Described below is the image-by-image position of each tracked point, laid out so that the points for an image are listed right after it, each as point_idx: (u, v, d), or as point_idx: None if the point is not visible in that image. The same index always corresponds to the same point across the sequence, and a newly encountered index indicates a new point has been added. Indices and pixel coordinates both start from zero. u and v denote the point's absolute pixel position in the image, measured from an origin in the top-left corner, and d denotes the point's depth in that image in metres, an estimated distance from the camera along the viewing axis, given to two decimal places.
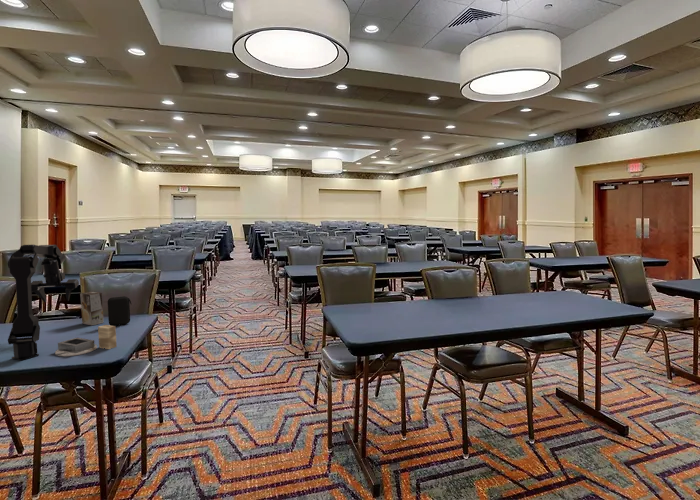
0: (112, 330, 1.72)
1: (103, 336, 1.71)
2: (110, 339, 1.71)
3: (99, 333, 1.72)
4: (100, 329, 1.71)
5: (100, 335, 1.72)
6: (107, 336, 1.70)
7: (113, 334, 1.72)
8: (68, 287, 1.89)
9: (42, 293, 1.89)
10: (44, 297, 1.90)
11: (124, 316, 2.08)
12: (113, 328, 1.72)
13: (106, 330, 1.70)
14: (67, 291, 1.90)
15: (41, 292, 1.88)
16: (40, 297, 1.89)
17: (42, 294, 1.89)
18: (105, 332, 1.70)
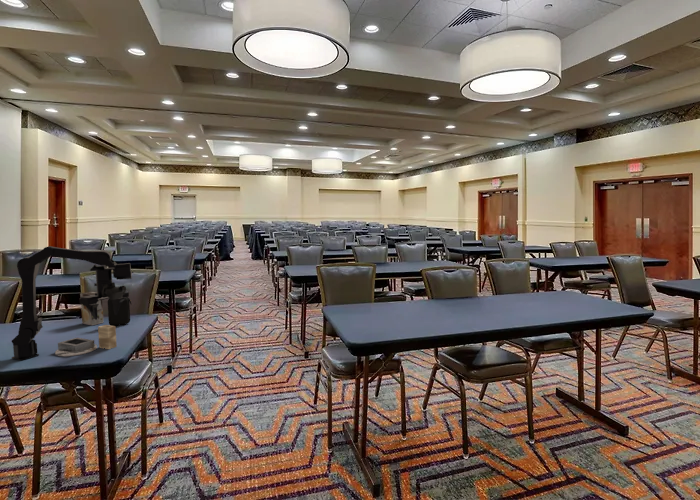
0: (112, 330, 1.72)
1: (103, 336, 1.71)
2: (110, 339, 1.71)
3: (99, 333, 1.72)
4: (100, 329, 1.71)
5: (100, 335, 1.72)
6: (107, 336, 1.70)
7: (113, 334, 1.72)
8: None
9: (114, 303, 1.77)
10: (115, 308, 1.76)
11: (124, 316, 2.08)
12: (113, 328, 1.72)
13: (106, 330, 1.70)
14: None
15: (114, 301, 1.77)
16: None
17: (114, 304, 1.77)
18: (105, 332, 1.70)
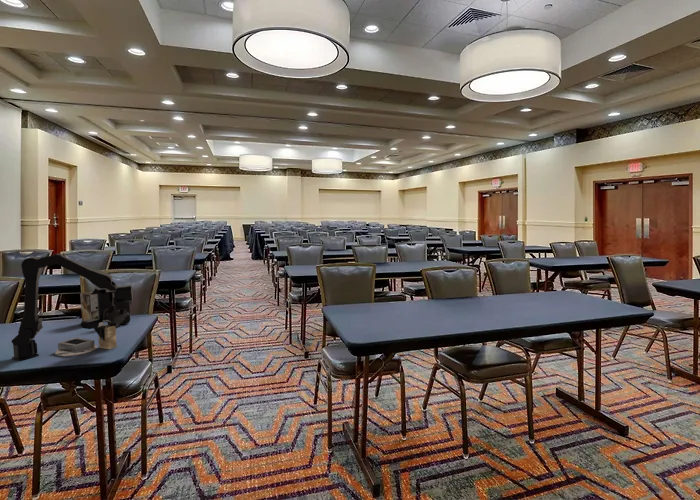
0: (112, 330, 1.72)
1: None
2: (110, 339, 1.71)
3: None
4: None
5: None
6: (107, 336, 1.70)
7: (113, 334, 1.72)
8: None
9: None
10: None
11: None
12: (113, 328, 1.72)
13: (106, 330, 1.70)
14: None
15: None
16: None
17: None
18: (105, 332, 1.70)
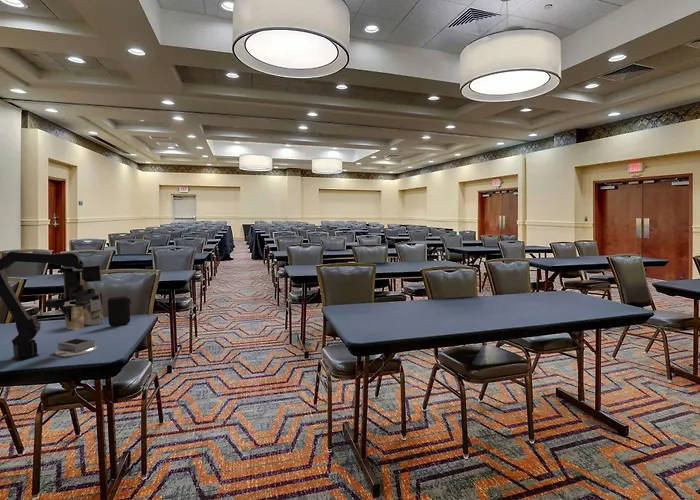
0: (79, 310, 1.67)
1: None
2: (77, 319, 1.66)
3: None
4: None
5: None
6: (74, 316, 1.65)
7: (80, 314, 1.67)
8: None
9: None
10: None
11: (124, 316, 2.08)
12: (80, 308, 1.67)
13: (73, 310, 1.65)
14: None
15: (77, 305, 1.70)
16: None
17: None
18: (71, 312, 1.65)
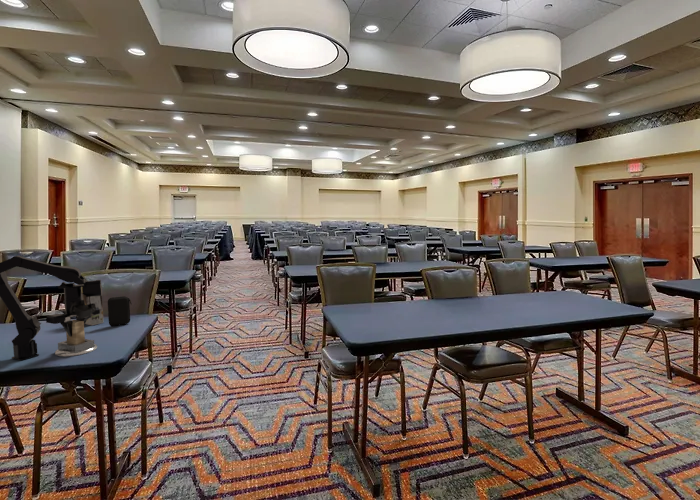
0: (80, 325, 1.67)
1: None
2: (78, 334, 1.66)
3: None
4: None
5: None
6: (74, 331, 1.66)
7: (81, 329, 1.68)
8: None
9: None
10: None
11: (124, 316, 2.08)
12: (81, 323, 1.67)
13: (73, 325, 1.65)
14: None
15: None
16: None
17: None
18: (72, 327, 1.66)
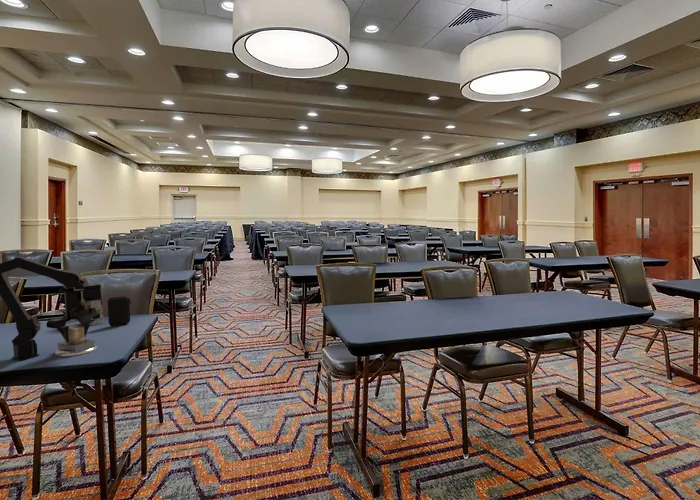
0: (80, 331, 1.67)
1: (71, 337, 1.67)
2: (78, 340, 1.67)
3: None
4: (68, 330, 1.67)
5: None
6: (75, 337, 1.66)
7: (81, 335, 1.68)
8: None
9: (82, 325, 1.72)
10: None
11: (124, 316, 2.08)
12: (81, 329, 1.68)
13: (74, 331, 1.66)
14: None
15: (82, 323, 1.72)
16: None
17: (82, 326, 1.72)
18: (72, 333, 1.66)
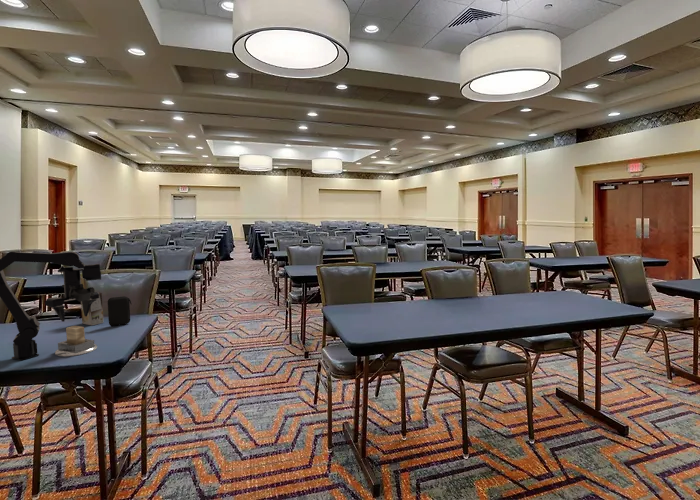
0: (80, 331, 1.67)
1: (71, 337, 1.67)
2: (79, 340, 1.67)
3: (67, 334, 1.68)
4: (68, 330, 1.67)
5: (68, 336, 1.67)
6: (75, 337, 1.66)
7: (81, 335, 1.68)
8: None
9: (83, 304, 1.74)
10: (84, 310, 1.73)
11: (124, 316, 2.08)
12: (81, 329, 1.68)
13: (74, 331, 1.66)
14: None
15: (83, 303, 1.74)
16: None
17: (83, 305, 1.74)
18: (73, 333, 1.66)
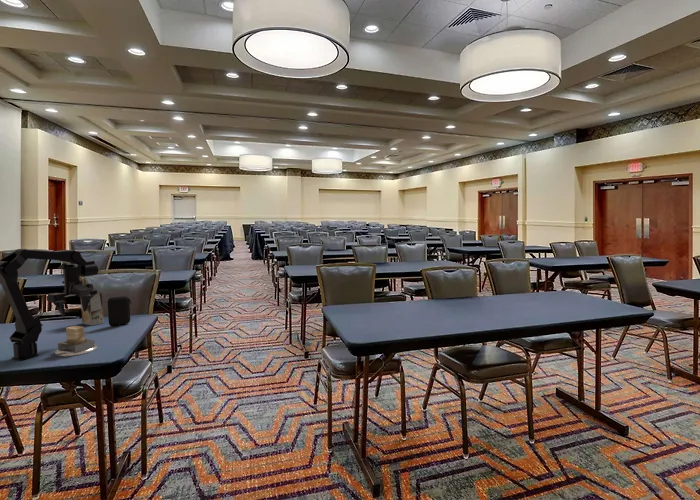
0: (80, 331, 1.67)
1: (71, 337, 1.67)
2: (79, 340, 1.67)
3: (67, 334, 1.68)
4: (68, 330, 1.67)
5: (68, 336, 1.67)
6: (75, 337, 1.66)
7: (81, 335, 1.68)
8: None
9: (82, 300, 1.83)
10: (83, 305, 1.83)
11: (124, 316, 2.08)
12: (81, 329, 1.68)
13: (74, 331, 1.66)
14: None
15: (82, 298, 1.83)
16: None
17: (82, 301, 1.83)
18: (73, 333, 1.66)
